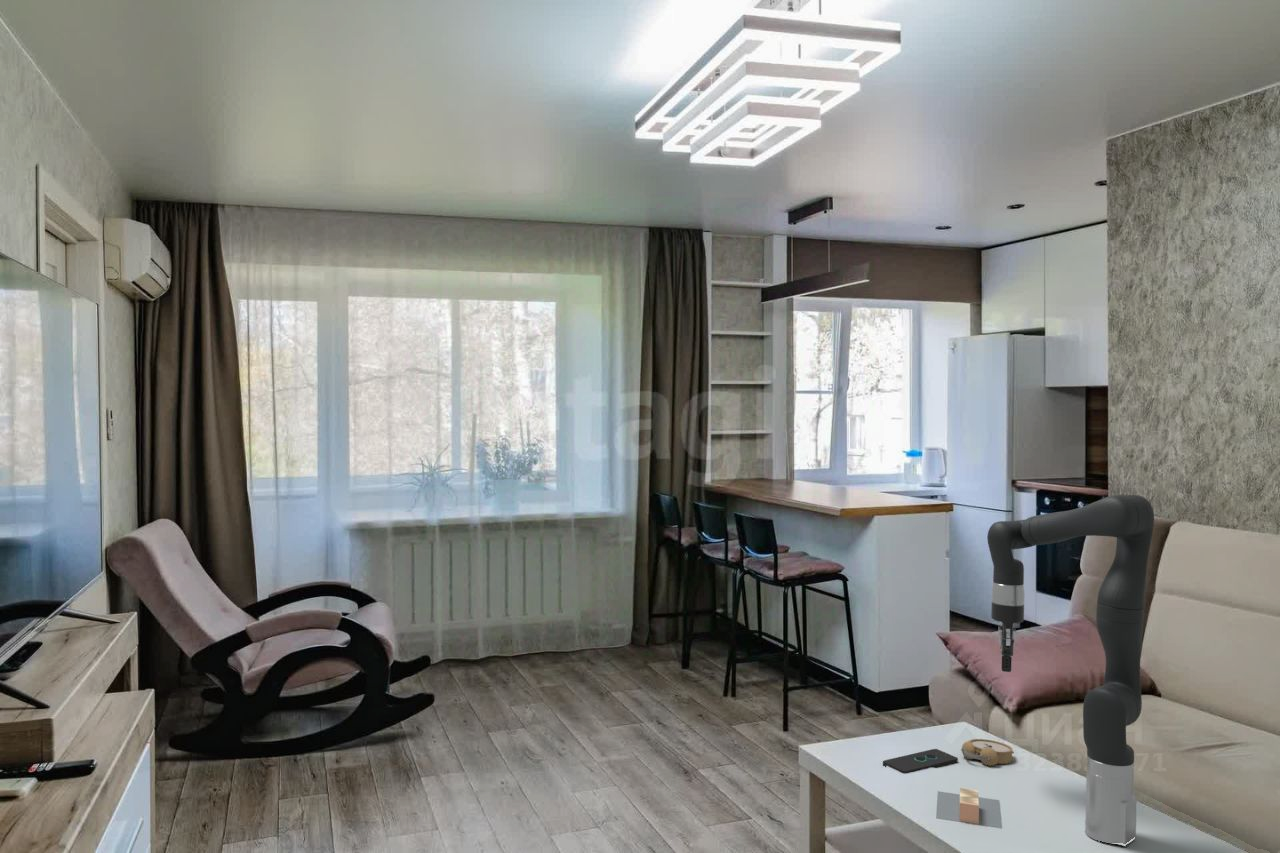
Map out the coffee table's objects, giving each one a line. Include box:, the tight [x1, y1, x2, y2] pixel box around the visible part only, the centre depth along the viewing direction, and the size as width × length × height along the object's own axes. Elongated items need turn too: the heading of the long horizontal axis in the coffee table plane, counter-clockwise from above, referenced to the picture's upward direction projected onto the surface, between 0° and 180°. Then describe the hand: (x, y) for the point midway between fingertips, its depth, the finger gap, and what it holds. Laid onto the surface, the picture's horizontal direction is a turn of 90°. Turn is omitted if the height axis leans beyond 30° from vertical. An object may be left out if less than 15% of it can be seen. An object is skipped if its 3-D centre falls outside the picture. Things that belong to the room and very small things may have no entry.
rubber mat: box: [935, 790, 1003, 829], centre depth 214 cm, size 14×16×1 cm
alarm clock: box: [960, 738, 1015, 767], centre depth 247 cm, size 11×5×15 cm
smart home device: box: [882, 748, 959, 774], centre depth 242 cm, size 8×2×20 cm
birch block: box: [959, 787, 979, 825], centre depth 211 cm, size 4×4×9 cm
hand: (1006, 670), depth 228 cm, fingers closed
